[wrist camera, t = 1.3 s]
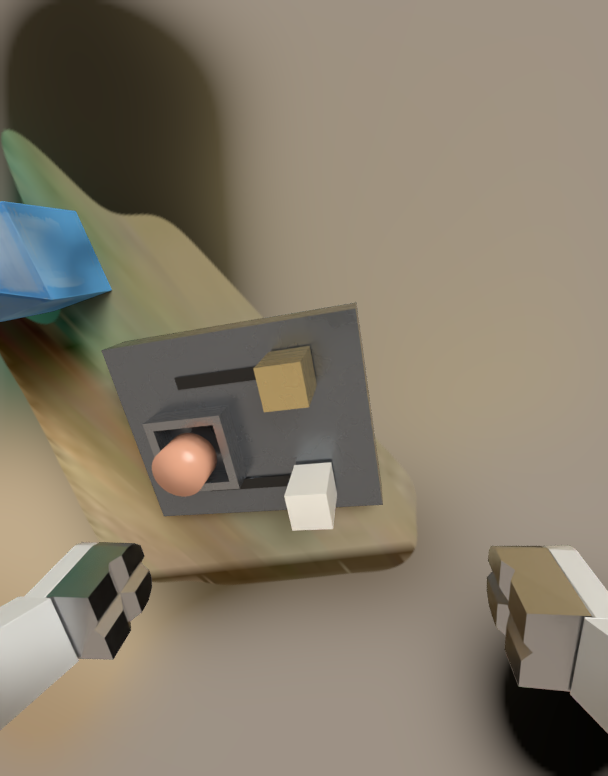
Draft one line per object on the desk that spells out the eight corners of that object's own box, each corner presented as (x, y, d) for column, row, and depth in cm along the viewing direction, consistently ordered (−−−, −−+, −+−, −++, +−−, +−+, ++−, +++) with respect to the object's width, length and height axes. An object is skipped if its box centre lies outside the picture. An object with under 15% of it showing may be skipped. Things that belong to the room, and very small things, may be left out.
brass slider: (309, 345, 26) (300, 361, 22) (316, 385, 26) (309, 407, 23) (269, 351, 26) (253, 368, 22) (277, 390, 27) (263, 412, 23)
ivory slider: (331, 462, 29) (326, 493, 25) (336, 494, 30) (333, 529, 26) (294, 465, 29) (284, 496, 26) (301, 496, 30) (292, 530, 26)
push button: (209, 430, 28) (195, 446, 25) (222, 475, 29) (210, 495, 26) (162, 435, 28) (144, 451, 26) (177, 478, 30) (161, 498, 27)
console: (356, 302, 27) (354, 313, 23) (381, 482, 32) (383, 521, 28) (124, 341, 31) (83, 357, 27) (179, 495, 37) (152, 531, 32)
